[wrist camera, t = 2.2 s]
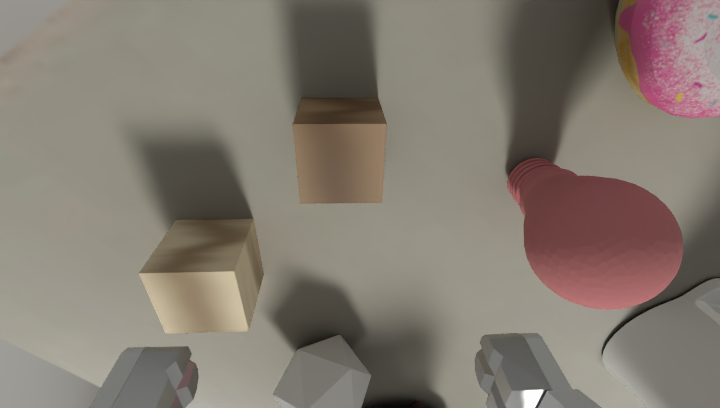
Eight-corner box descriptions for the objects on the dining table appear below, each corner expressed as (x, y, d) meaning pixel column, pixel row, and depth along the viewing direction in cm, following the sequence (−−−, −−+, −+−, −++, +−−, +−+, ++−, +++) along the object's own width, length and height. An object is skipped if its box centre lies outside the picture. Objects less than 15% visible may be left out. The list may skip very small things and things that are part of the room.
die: (286, 314, 34) (242, 422, 30) (361, 336, 30) (322, 465, 26) (324, 332, 41) (292, 423, 37) (391, 353, 37) (363, 459, 33)
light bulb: (497, 121, 24) (611, 222, 14) (592, 132, 25) (765, 235, 15) (467, 207, 28) (540, 335, 18) (550, 214, 28) (665, 341, 18)
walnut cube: (378, 97, 23) (386, 124, 19) (375, 166, 26) (382, 202, 21) (301, 97, 23) (292, 124, 18) (306, 166, 25) (300, 203, 21)
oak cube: (253, 218, 27) (234, 271, 22) (263, 273, 31) (248, 331, 26) (176, 219, 27) (138, 273, 22) (194, 275, 30) (165, 333, 25)
